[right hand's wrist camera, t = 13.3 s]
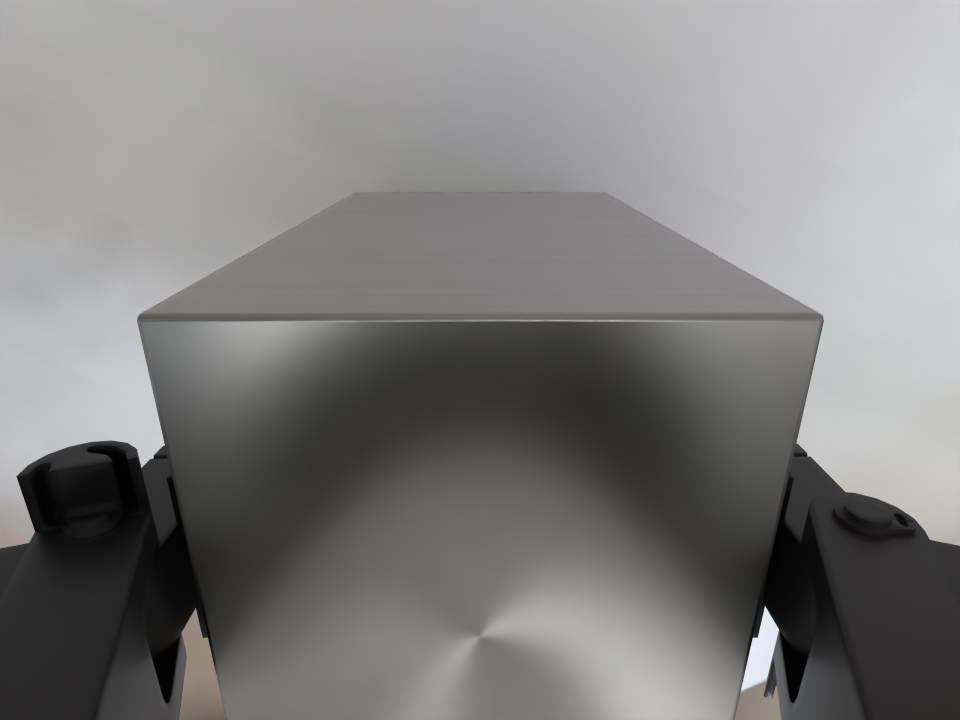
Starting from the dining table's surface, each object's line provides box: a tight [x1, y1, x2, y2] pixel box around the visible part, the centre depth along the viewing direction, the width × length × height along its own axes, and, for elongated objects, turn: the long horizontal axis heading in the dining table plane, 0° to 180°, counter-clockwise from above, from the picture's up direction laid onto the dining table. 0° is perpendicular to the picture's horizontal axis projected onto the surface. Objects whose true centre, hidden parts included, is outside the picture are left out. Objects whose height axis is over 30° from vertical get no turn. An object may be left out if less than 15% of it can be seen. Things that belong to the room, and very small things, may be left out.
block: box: [137, 193, 824, 720], centre depth 12 cm, size 8×7×11 cm
